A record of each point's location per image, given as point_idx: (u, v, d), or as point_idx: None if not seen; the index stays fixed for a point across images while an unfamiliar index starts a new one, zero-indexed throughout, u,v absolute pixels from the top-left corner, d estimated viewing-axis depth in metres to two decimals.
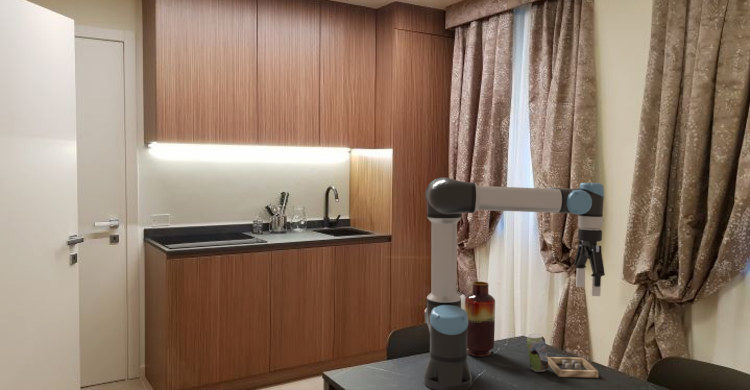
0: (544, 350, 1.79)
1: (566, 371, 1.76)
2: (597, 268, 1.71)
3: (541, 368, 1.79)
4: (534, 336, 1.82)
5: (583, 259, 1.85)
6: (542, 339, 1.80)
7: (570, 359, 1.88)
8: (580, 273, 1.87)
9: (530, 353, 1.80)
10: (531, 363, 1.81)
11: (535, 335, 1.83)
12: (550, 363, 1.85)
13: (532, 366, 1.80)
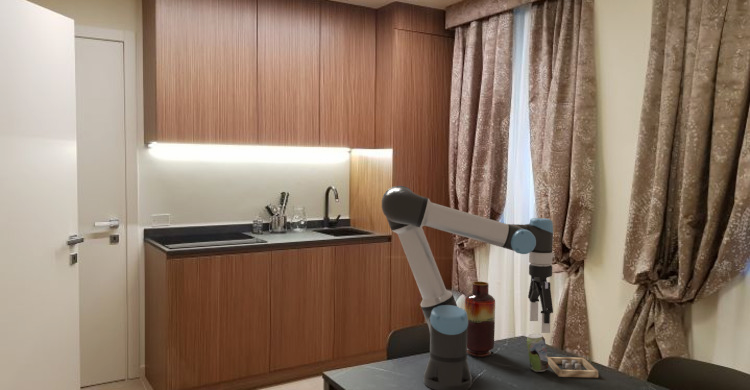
0: (544, 350, 1.79)
1: (566, 371, 1.76)
2: (546, 305, 1.71)
3: (541, 368, 1.79)
4: (534, 336, 1.82)
5: (535, 293, 1.85)
6: (542, 339, 1.80)
7: (570, 359, 1.88)
8: (533, 307, 1.87)
9: (530, 353, 1.80)
10: (531, 363, 1.81)
11: (535, 335, 1.83)
12: (550, 363, 1.85)
13: (532, 366, 1.80)
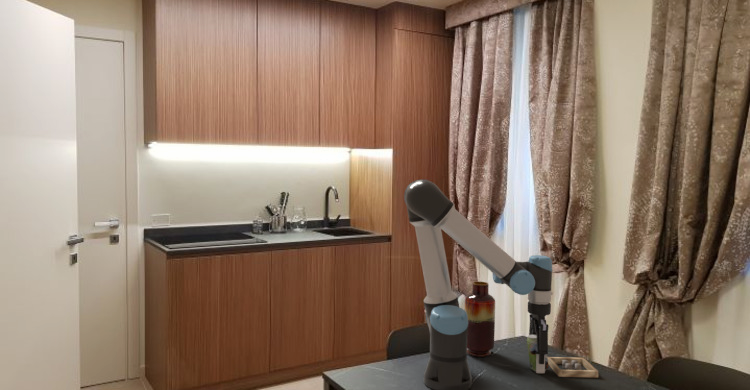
0: None
1: (566, 371, 1.76)
2: (541, 347, 1.75)
3: None
4: (534, 336, 1.82)
5: None
6: None
7: (570, 359, 1.88)
8: None
9: (530, 353, 1.80)
10: (531, 363, 1.81)
11: (535, 335, 1.83)
12: (550, 363, 1.85)
13: (532, 366, 1.80)
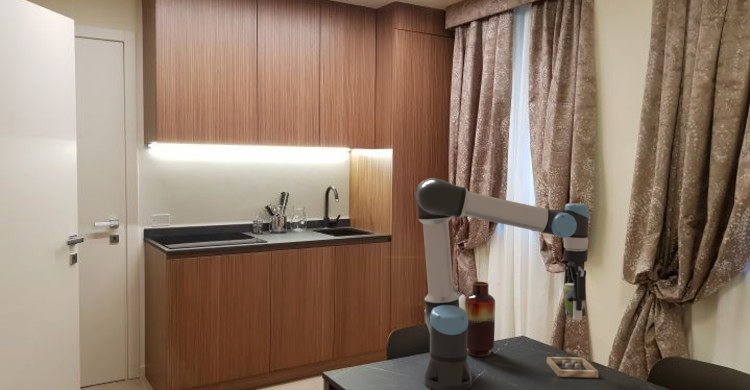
0: None
1: (566, 371, 1.76)
2: (579, 293, 1.75)
3: None
4: (571, 284, 1.81)
5: (571, 282, 1.84)
6: None
7: (570, 359, 1.88)
8: None
9: (567, 300, 1.80)
10: (568, 311, 1.81)
11: (571, 283, 1.83)
12: (550, 363, 1.85)
13: (569, 313, 1.80)
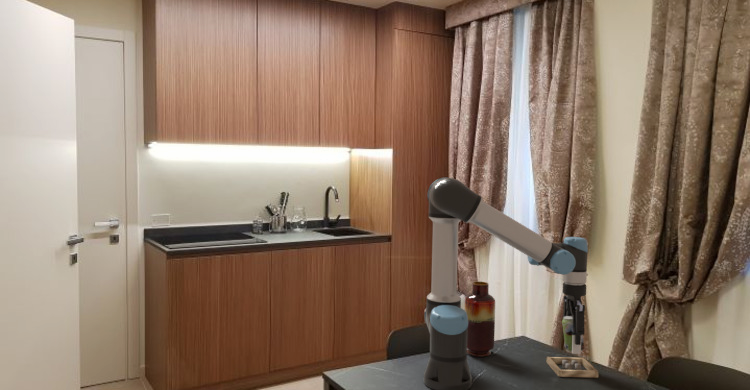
0: None
1: (566, 371, 1.76)
2: (578, 328, 1.75)
3: None
4: (569, 317, 1.82)
5: (570, 315, 1.85)
6: None
7: (570, 359, 1.88)
8: None
9: (566, 334, 1.81)
10: (567, 344, 1.81)
11: (570, 316, 1.83)
12: (550, 363, 1.85)
13: (568, 347, 1.81)
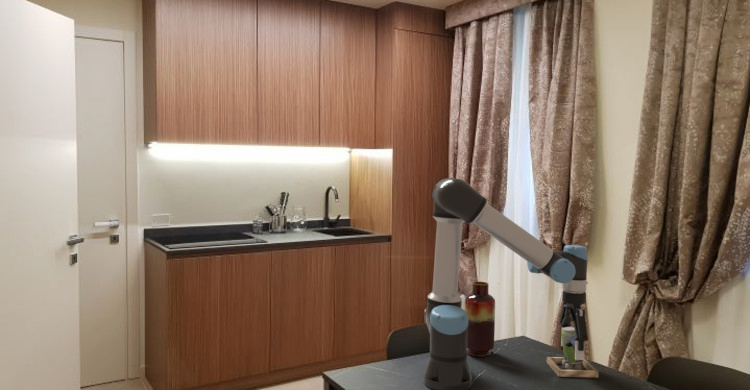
0: None
1: (566, 371, 1.76)
2: (580, 333, 1.73)
3: (576, 360, 1.79)
4: (569, 329, 1.82)
5: (568, 319, 1.87)
6: None
7: None
8: None
9: (565, 345, 1.81)
10: (566, 355, 1.81)
11: (570, 328, 1.83)
12: (550, 363, 1.85)
13: (567, 358, 1.81)
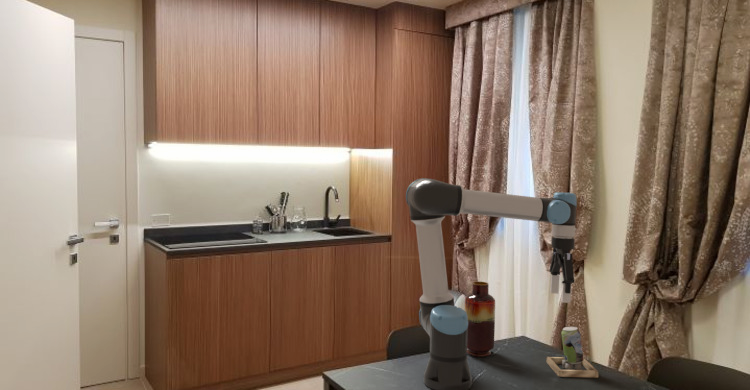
0: (579, 342, 1.80)
1: (566, 371, 1.76)
2: (567, 275, 1.77)
3: (576, 360, 1.79)
4: (569, 329, 1.82)
5: (557, 266, 1.90)
6: (577, 331, 1.80)
7: None
8: (554, 279, 1.93)
9: (565, 345, 1.81)
10: (566, 355, 1.81)
11: (570, 328, 1.83)
12: (550, 363, 1.85)
13: (567, 358, 1.81)
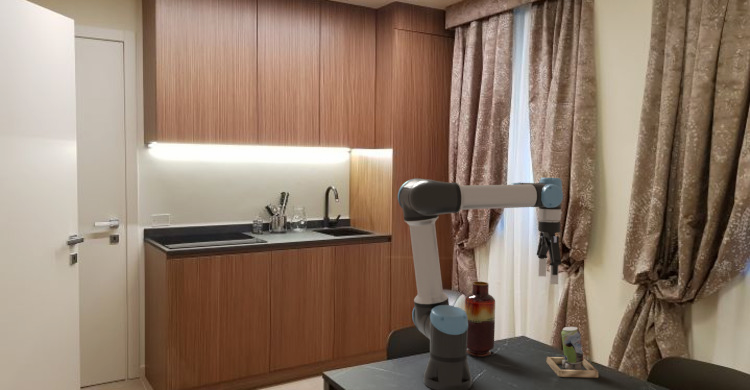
0: (579, 342, 1.80)
1: (566, 371, 1.76)
2: (554, 257, 1.82)
3: (576, 360, 1.79)
4: (569, 329, 1.82)
5: (544, 250, 1.96)
6: (577, 331, 1.80)
7: None
8: (541, 263, 1.98)
9: (565, 345, 1.81)
10: (566, 355, 1.81)
11: (570, 328, 1.83)
12: (550, 363, 1.85)
13: (567, 358, 1.81)
